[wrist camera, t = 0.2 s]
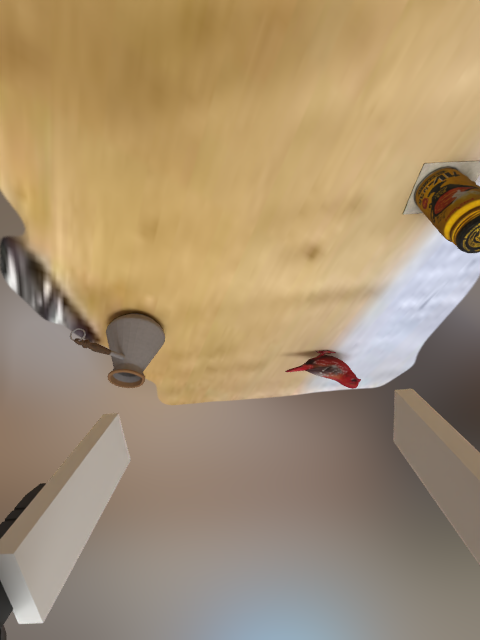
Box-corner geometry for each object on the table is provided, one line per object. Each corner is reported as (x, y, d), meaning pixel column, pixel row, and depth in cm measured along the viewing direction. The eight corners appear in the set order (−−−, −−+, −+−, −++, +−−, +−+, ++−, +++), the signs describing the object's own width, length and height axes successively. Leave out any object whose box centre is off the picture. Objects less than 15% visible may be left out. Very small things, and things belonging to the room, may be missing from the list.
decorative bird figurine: (349, 354, 74) (361, 391, 68) (280, 352, 72) (286, 390, 66) (353, 348, 72) (366, 385, 66) (283, 345, 70) (289, 383, 64)
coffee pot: (173, 338, 66) (165, 401, 56) (124, 344, 67) (108, 407, 57) (134, 263, 50) (113, 334, 40) (70, 273, 51) (34, 344, 41)
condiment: (423, 163, 39) (473, 209, 32) (486, 160, 39) (552, 206, 32) (402, 213, 45) (440, 264, 37) (457, 210, 45) (507, 260, 37)
